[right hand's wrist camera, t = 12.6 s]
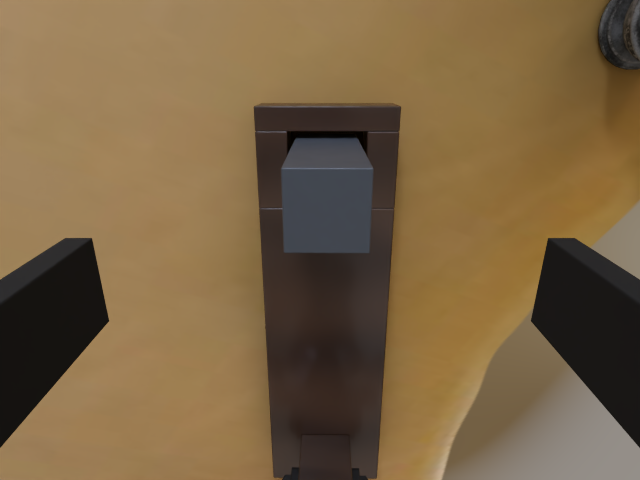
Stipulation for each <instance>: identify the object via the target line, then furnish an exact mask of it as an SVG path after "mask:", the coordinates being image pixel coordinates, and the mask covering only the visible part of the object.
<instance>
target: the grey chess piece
mask: <svg viewBox="0 0 640 480" xmlns="http://www.w3.org/2000/svg"><path fill="white" fill-rule="evenodd" d="M599 44H600V47H601V50H602V53H603V54H604V56H605V57H606V59H607V60H608V61H609V62H611V63H612V64H613V65H615V66H617V67H620V68H623V69H640V0H611V1H610V2H609V3H608V5H607V6H606V8H605V11H604V13H603V15H602V17H601V21H600V26H599Z"/></svg>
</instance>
